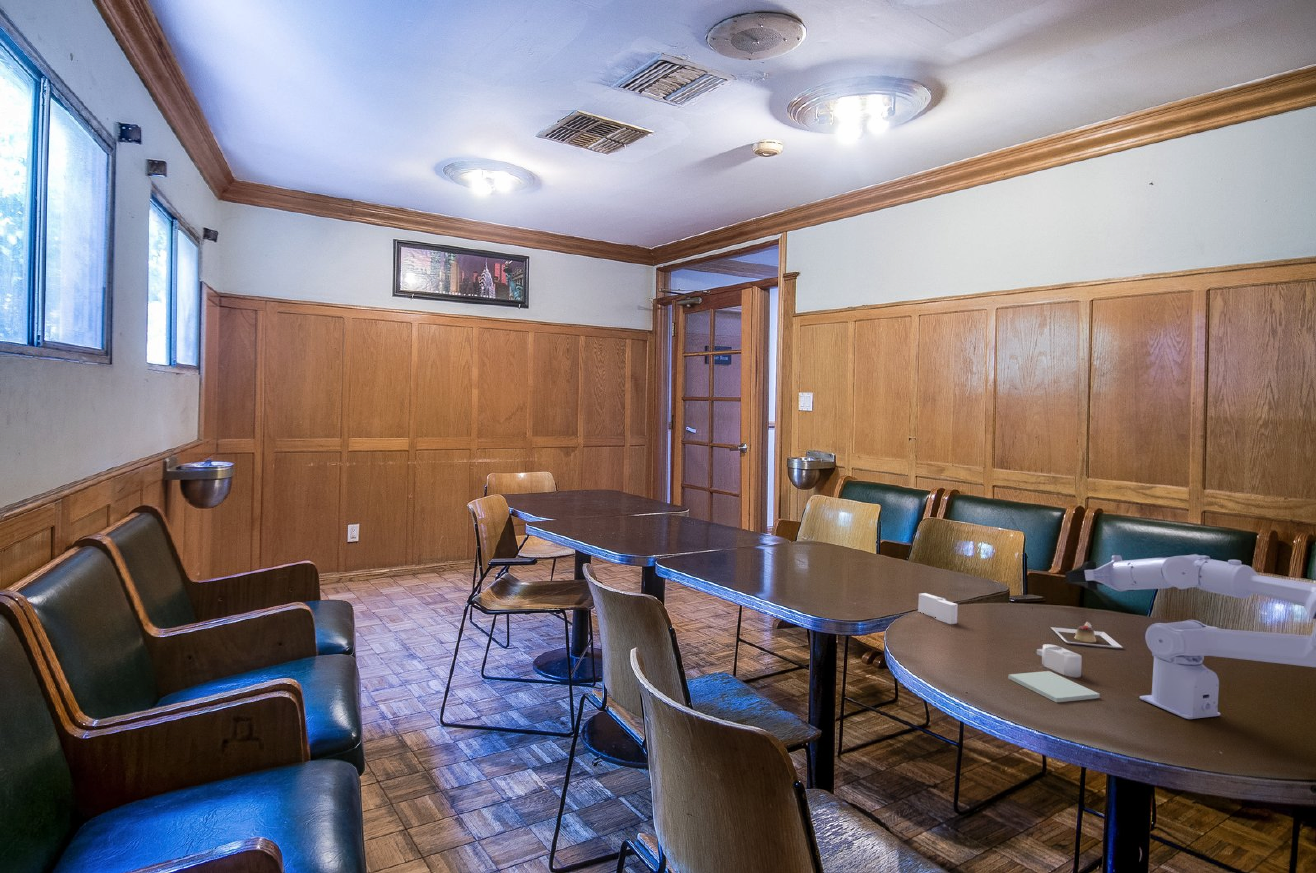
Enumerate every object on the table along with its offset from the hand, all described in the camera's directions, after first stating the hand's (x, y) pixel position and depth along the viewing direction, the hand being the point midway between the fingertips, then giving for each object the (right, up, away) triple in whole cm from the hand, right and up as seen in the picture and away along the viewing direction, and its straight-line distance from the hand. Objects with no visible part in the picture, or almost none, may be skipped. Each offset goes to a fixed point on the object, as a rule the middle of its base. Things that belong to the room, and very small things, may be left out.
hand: (1080, 578), depth 151 cm
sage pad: (-12, -19, -12) cm, 25 cm away
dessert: (+13, -19, +20) cm, 31 cm away
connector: (-5, -19, -1) cm, 20 cm away
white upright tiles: (-17, -18, +35) cm, 43 cm away
